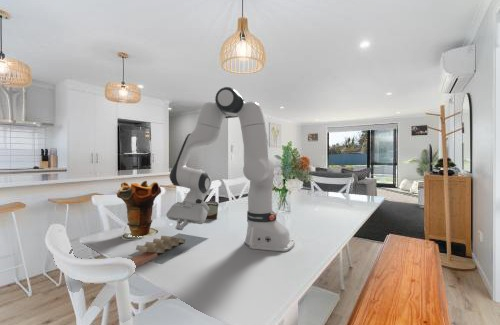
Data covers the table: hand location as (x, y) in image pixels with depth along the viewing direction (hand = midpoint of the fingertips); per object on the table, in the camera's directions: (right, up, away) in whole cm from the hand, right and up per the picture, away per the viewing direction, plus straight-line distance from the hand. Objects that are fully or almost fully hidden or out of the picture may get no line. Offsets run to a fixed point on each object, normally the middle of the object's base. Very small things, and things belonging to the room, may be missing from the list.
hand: (178, 229), depth 109 cm
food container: (+7, -5, +45) cm, 46 cm away
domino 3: (-3, -6, -6) cm, 9 cm away
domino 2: (-6, -6, -13) cm, 16 cm away
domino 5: (+1, -5, +1) cm, 6 cm away
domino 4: (-1, -5, -2) cm, 6 cm away
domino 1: (-5, -6, -10) cm, 12 cm away
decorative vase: (-24, -7, +15) cm, 29 cm away
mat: (-2, -7, -4) cm, 8 cm away
